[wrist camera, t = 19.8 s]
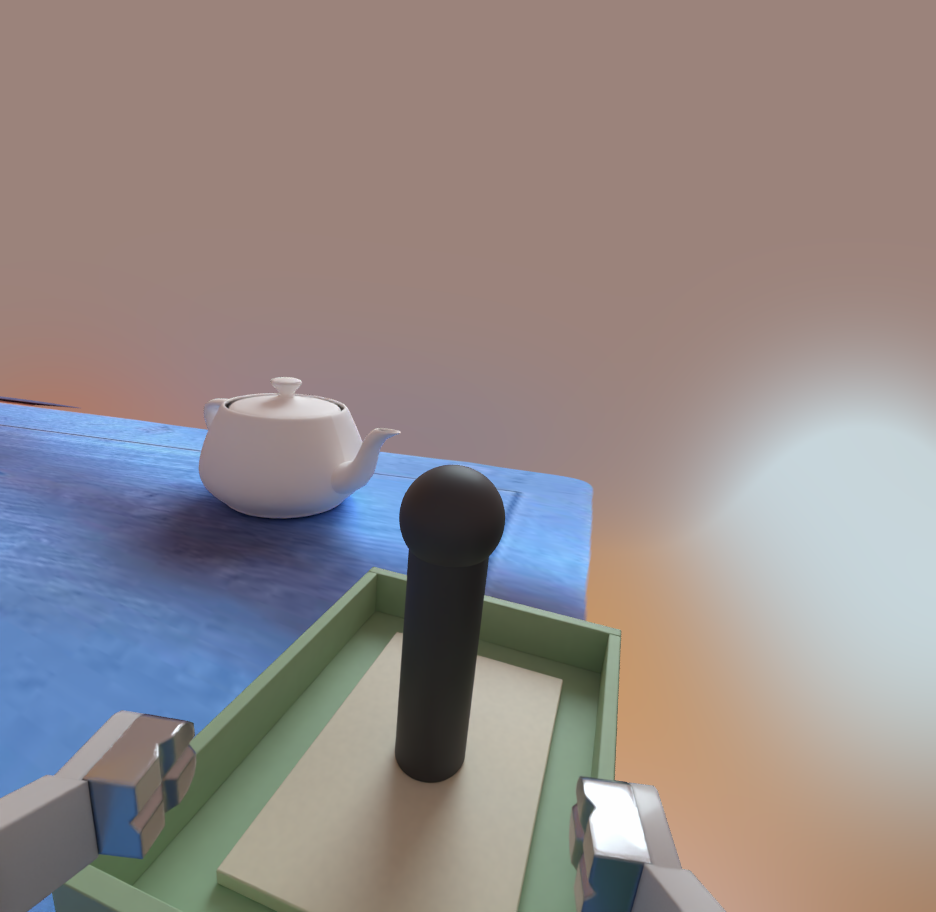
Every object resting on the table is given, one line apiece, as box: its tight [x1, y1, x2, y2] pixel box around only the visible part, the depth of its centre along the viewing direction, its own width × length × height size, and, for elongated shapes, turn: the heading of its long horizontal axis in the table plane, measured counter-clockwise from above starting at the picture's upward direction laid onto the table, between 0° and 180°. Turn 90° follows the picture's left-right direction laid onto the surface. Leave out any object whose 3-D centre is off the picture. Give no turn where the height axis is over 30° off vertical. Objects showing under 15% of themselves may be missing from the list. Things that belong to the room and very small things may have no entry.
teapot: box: [199, 377, 401, 518], centre depth 44 cm, size 22×14×11 cm, turn 61°
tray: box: [52, 567, 621, 912], centre depth 20 cm, size 18×14×3 cm
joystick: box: [216, 465, 563, 912], centre depth 19 cm, size 13×9×13 cm
